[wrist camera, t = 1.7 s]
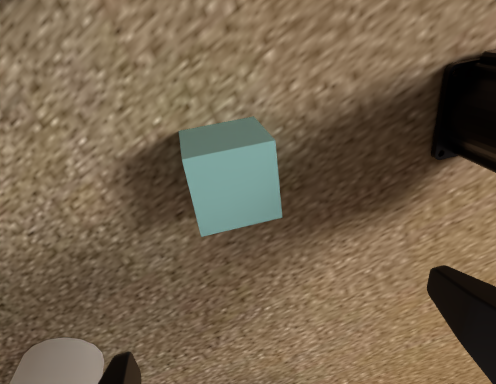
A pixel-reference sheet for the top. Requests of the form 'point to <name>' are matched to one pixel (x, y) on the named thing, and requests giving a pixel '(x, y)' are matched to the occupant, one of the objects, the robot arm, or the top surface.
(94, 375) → the white cup
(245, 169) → the teal block
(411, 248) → the top surface
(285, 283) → the top surface
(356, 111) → the top surface
